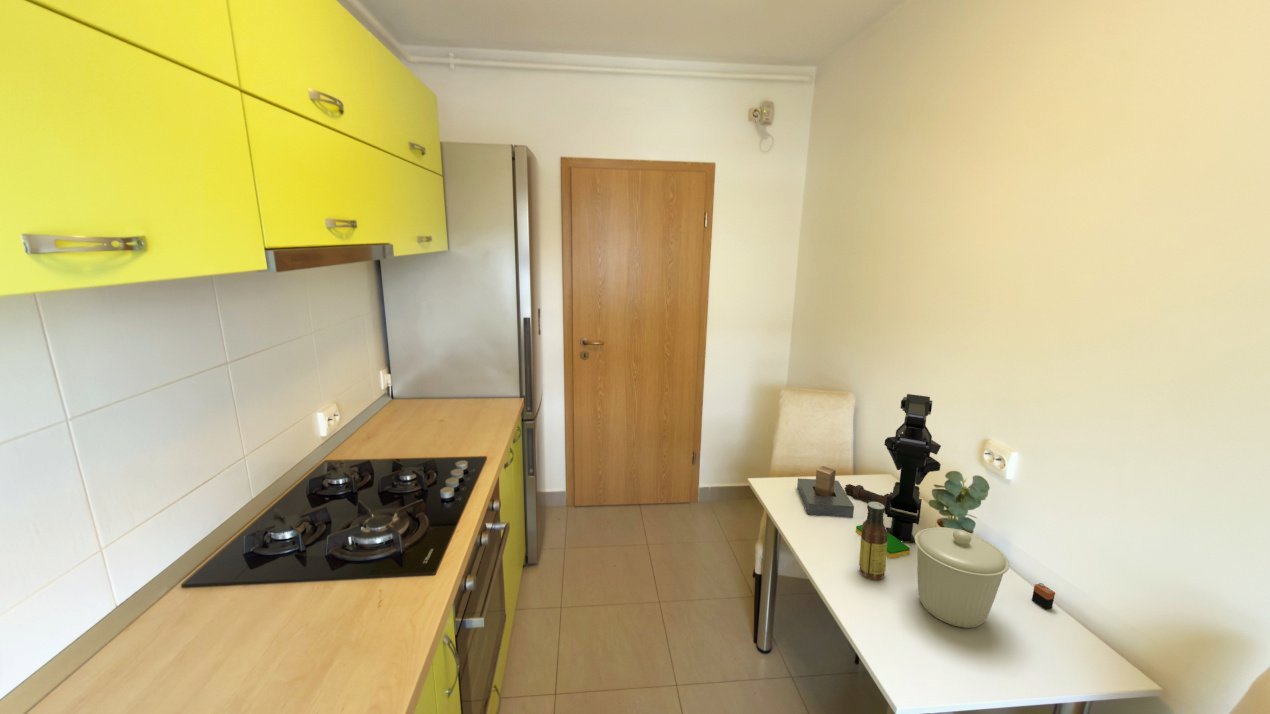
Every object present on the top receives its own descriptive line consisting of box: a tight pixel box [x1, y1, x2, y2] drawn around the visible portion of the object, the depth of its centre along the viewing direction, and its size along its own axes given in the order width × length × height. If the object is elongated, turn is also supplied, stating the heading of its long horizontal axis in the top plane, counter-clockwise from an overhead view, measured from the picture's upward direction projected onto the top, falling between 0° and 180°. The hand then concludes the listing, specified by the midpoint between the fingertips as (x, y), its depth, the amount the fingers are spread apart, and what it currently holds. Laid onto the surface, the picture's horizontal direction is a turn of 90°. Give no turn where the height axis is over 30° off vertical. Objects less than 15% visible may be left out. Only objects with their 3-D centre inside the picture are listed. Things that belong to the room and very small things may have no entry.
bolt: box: [844, 483, 892, 509], centre depth 162 cm, size 6×5×15 cm
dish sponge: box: [855, 524, 911, 559], centre depth 139 cm, size 7×14×2 cm, turn 15°
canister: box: [914, 526, 1010, 629], centre depth 110 cm, size 18×18×21 cm
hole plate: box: [796, 477, 855, 519], centre depth 161 cm, size 18×14×4 cm
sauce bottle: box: [858, 501, 887, 581], centre depth 124 cm, size 7×6×20 cm
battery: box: [1031, 582, 1056, 610], centre depth 114 cm, size 2×3×5 cm, turn 12°
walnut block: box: [815, 465, 836, 497], centre depth 161 cm, size 4×4×12 cm
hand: (908, 477), depth 151 cm, fingers open, 9 cm apart
